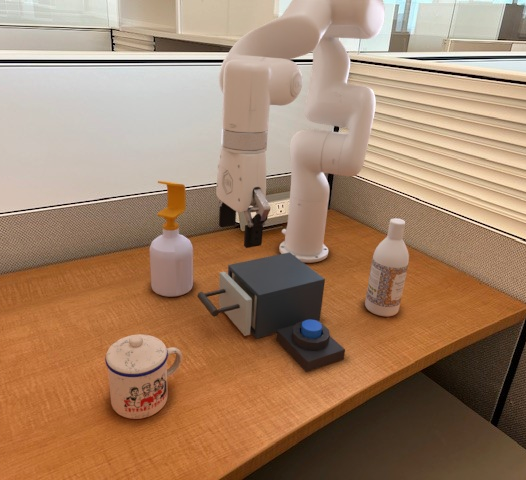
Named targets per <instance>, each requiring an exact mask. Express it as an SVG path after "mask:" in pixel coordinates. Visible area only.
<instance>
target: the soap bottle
mask: <svg viewBox="0 0 526 480" xmlns="http://www.w3.org/2000/svg"><path fill="white" fill-rule="evenodd" d="M157 183H158V184H160V185H166V189H167V190H166V191H167V194H166V195H167V204H166V207H164V208H163V209H161V210H159V212H157V217H161V218H163V219H164V220H166V222H165V223H163V224H162V234H160V235H158V236H156V237H155V238H154V239H153V240H152V241H151V243H150V246H149V264H150V287H151V289H152V291H153V292H154V293H155V294H156V295H160V296H162V297H168V298H169V297H180V296H183V295H185V294H187V293H189V292H190V291H191V290H192V289H193V287H194V246H193V244H192V241H191V240H190V239H189V238H187V237H186V236H185V235H183V234H180V225H179V223H178V222H175V220H177V219H178V217H179V216H181V215H182V214H183V213H185V211H186V205H187V204H186V201H187V200H186V198H187V197H186V186H185V184H183V183H178V182H172V181H166V180H158V181H157Z"/></svg>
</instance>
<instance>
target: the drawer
mask: <svg viewBox="0 0 526 480" xmlns="http://www.w3.org/2000/svg"><path fill="white" fill-rule="evenodd" d="M218 280H219V282H218V290H213V291H209V292H203V291H199V292H198V293H197V294H196V296H197V299H198V300H199V301H200V302H201V303H202V305H203V306H204V307H205V308H206V310H207V311H208V312H209V313H210V315H211V316H212V317H213V318H214V317H215V318H216V317H218V316H219V315H220V314H221V313H224V314H225V315H226V316H227V317H228V318H229V320H230V321H231V322H232V324H234V326H235V327H236V328H237V329H238V330H239V331H240V332H241V334H242V335H243V336H244V337H246V336H250V335H251V332H250V329H251V326H252V327H253V328H254V329H255V319H256V303H257V296H256V295H255V294H254V293H253V292H252V291H251V290H250V289H249V288H248V287H246V286H245V285H244V284H243V283H242V282H241V281H240V280H239V279H238V278H237V277H236V276H235V275H234V274H233V273H232V278H231V277H230V276H229V275H228V272H226V271H220V272H219V279H218ZM217 295H218V307H219V308H217V307H216V306H215V304H213V302H212V301H211V300H210V298H209V297H213V296H217Z"/></svg>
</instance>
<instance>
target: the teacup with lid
mask: <svg viewBox="0 0 526 480" xmlns="http://www.w3.org/2000/svg"><path fill="white" fill-rule="evenodd" d="M107 349H108V350H107V351H106V353H105V358H104V362H105V365H106V367H107V377H108V385H109V394H110V395H109V396H110V404H111V407H112V409H113V410H114V411H115V413H117V414H118V415H119V416H121V417H123V418H127V419H132V420H137V419H138V420H139V419H145V418H149V417H152V416H153V415H155V414H157V413H158V412H159V411H160V410H162V409H163V408H164V406H165V405H166V403H167V401H168V398H169V397H168V396H169V393H168V378H169V377H171V376H173V375H174V374H176V372H177V371H178V370H179V369H180V367H181V365H182V361H183V353H182V351H181V350H180V349H179V348H177V347H175V346H174V347H173V346H172V347H167V346H166V344H165V343H164V342H163V341H162V340H161V339H159V338H158V337H156V336H153V335H149V334H141V333H139V334H132V335H127V336H124V337H121V338H120V339H118V340H116V341H114V343H112V344H111V345H110V346H109V347H108V348H107ZM171 355H175V359H174V362H173V363H172V364H171V366H170V367H169V368H168V365H167V364H168V363H167V362H168V361H167V360H168V358H169V356H171Z"/></svg>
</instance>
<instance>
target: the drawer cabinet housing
mask: <svg viewBox="0 0 526 480" xmlns="http://www.w3.org/2000/svg"><path fill="white" fill-rule="evenodd" d="M232 273H233V274H234V275H235V276H236V277H237V278H238V279H239V280H240V281H241V282H242V283H243V284H244V285H245V286H246V287H248V288H249V289H250V290H251V291H252V292H253V293H254V294H255V295H256V296H257V303H256V319H255V329H254V328H253V327H252V326H251V329H250V334H251V335H252V336H253V337H254V339H256V340H258V339H261V338H264V337H268V336H271V335H275V334H277V330H279V329H283V328H286V327H290V326H293V325H296V324H297V323H299V322H302V321H305V320H309V319H311V320H316V321H318V322H320V320H321V314H322V308H323V307H322V306H323V298H324V292H325V291H324V290H325V282H326V279H325V278H324V277H323V276H322V275H320V273H318V272H317V271H315V270H314V269H313V268H311V267H310V266H308V265H307V264H306V263H304V262H302V261H300V260H299V259H298V258H296V257H295V256H294V255H292V254H291V253H290V252H289V253H284V254H281V253H279V254H275V255H269V256H264V257H260V258H255V259H250V260H246V261H241V262H236V263H232V264H227V274H228V275H229V276H230V277H231V278H232Z"/></svg>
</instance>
